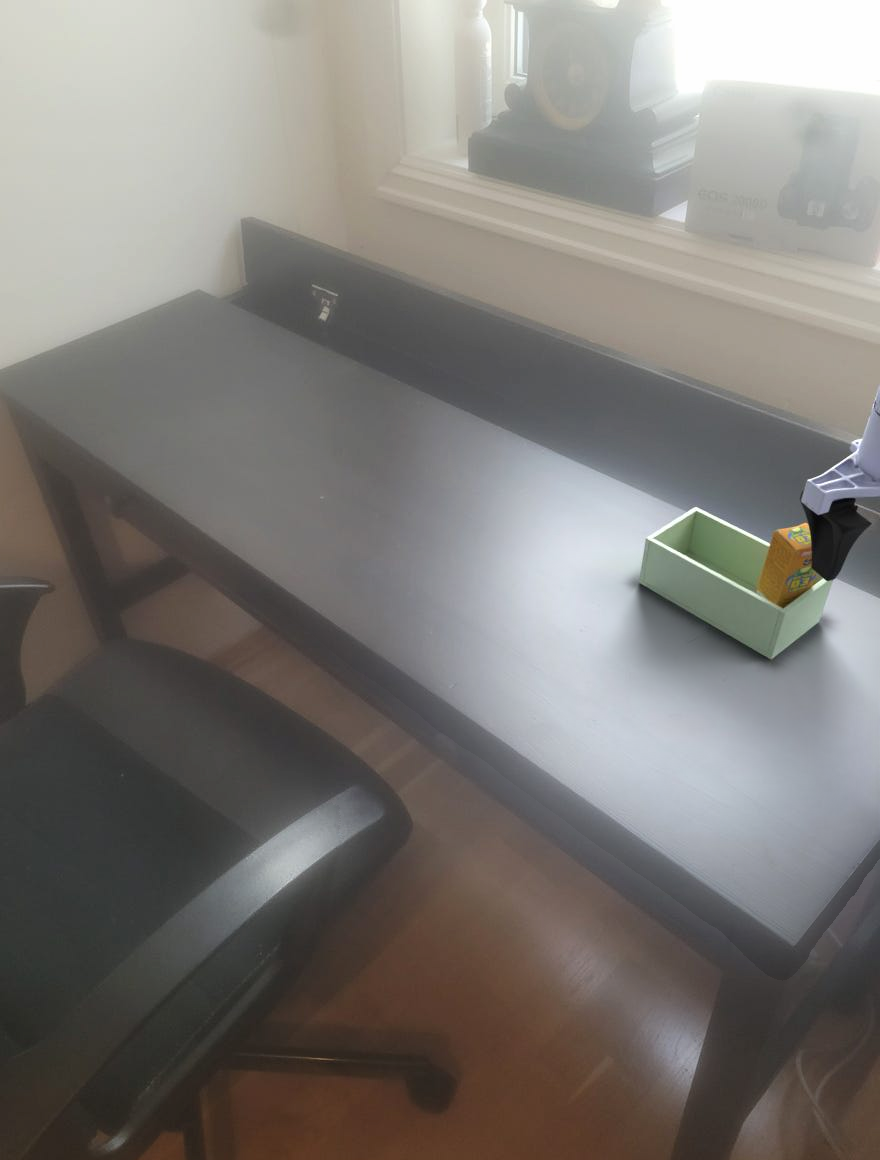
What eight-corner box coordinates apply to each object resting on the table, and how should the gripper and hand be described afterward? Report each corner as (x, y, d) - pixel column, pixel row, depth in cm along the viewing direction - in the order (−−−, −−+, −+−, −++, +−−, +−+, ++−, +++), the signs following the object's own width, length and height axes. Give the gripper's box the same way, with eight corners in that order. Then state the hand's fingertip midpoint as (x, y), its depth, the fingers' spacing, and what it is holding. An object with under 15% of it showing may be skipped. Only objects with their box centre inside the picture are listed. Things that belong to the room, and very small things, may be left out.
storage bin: (819, 621, 83) (834, 575, 79) (771, 660, 80) (785, 613, 76) (686, 551, 92) (695, 506, 88) (638, 582, 89) (645, 538, 85)
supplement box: (768, 638, 81) (794, 550, 74) (747, 614, 84) (770, 527, 77) (800, 629, 82) (829, 541, 75) (778, 606, 84) (804, 519, 77)
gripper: (956, 366, 68) (900, 514, 77) (794, 407, 65) (755, 556, 74) (1033, 407, 63) (963, 559, 72) (861, 454, 60) (811, 607, 69)
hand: (862, 561), depth 73 cm, fingers open, 7 cm apart
